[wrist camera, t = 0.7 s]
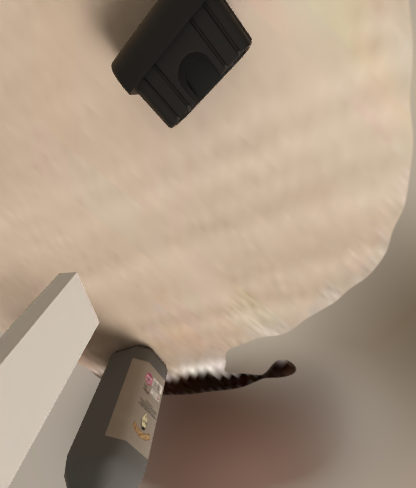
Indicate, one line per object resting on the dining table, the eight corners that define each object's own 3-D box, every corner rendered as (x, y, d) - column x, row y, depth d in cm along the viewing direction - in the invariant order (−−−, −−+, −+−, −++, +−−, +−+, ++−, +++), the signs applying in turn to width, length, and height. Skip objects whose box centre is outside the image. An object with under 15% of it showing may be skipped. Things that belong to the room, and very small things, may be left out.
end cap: (199, -28, 23) (189, -68, 17) (251, 47, 25) (258, 34, 19) (126, 67, 27) (98, 61, 21) (177, 125, 29) (164, 134, 23)
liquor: (147, 340, 46) (41, 662, 20) (173, 372, 50) (113, 677, 24) (105, 353, 49) (-37, 655, 23) (133, 382, 53) (39, 669, 27)
